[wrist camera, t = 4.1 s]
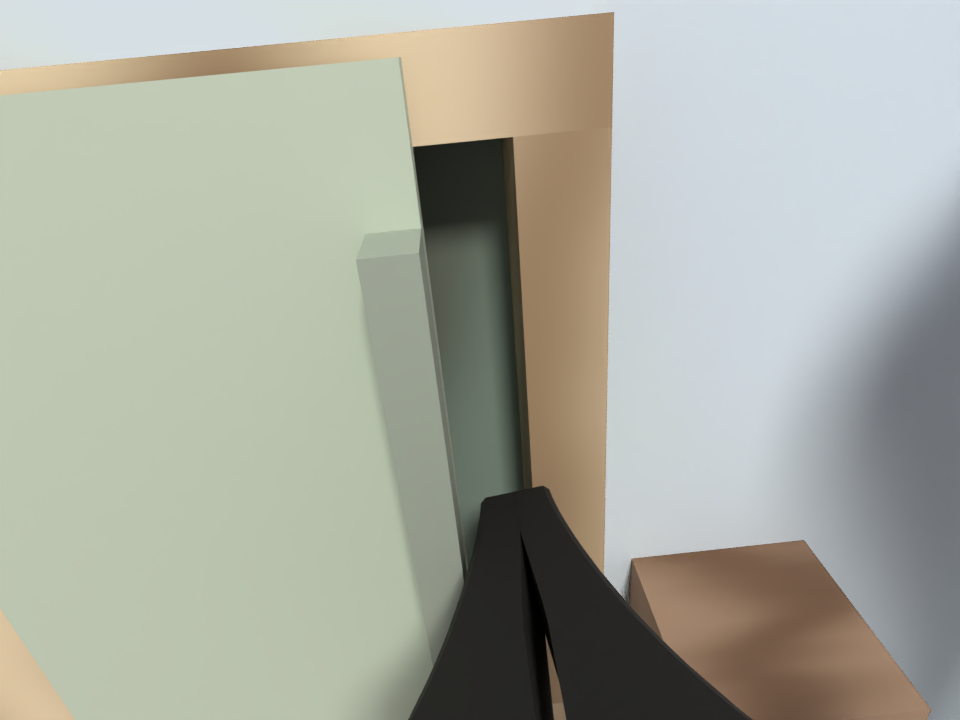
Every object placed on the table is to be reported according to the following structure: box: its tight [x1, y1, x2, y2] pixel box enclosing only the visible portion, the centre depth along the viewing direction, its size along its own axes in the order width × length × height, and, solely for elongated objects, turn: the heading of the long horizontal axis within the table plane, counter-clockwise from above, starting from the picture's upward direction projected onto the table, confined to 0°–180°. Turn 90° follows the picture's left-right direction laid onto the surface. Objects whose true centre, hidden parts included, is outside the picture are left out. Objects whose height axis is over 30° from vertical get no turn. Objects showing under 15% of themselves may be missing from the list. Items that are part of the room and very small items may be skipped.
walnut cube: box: [629, 540, 931, 720], centre depth 16 cm, size 5×5×5 cm
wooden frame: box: [0, 12, 614, 720], centre depth 13 cm, size 24×17×3 cm
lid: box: [0, 57, 468, 720], centre depth 11 cm, size 9×16×2 cm, turn 5°
